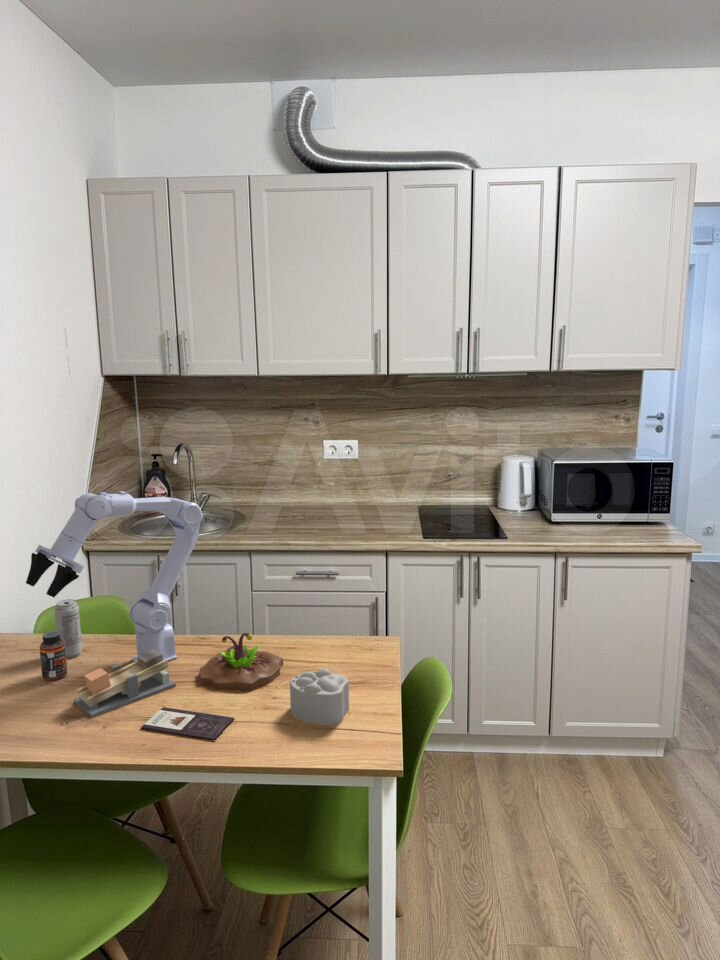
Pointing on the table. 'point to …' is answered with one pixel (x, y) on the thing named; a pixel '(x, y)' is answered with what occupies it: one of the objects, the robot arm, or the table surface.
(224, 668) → the plant
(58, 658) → the supplement bottle
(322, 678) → the lumpy-topped squat cylinder
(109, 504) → the robot arm
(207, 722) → the chocolate bar
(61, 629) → the energy drink can
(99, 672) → the block
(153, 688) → the stand
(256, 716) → the table surface
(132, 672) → the beam
